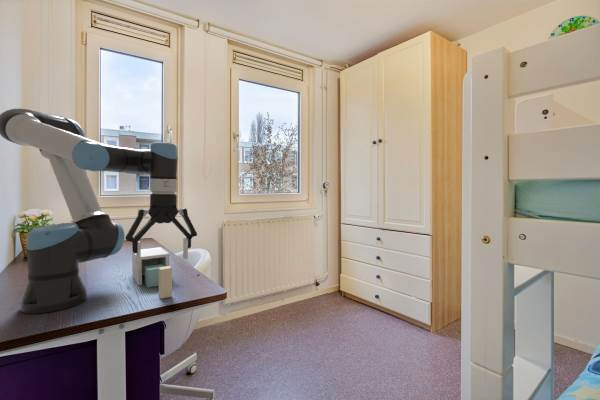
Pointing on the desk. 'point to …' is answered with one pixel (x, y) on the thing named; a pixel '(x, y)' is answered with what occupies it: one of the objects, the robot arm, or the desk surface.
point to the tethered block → (159, 279)
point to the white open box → (148, 261)
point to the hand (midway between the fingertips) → (162, 260)
